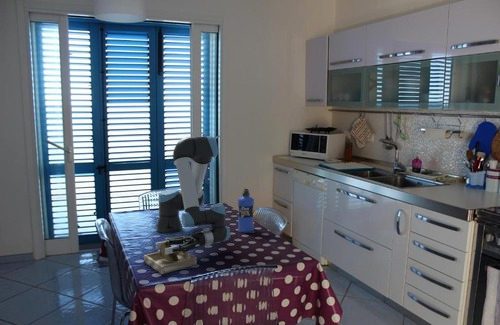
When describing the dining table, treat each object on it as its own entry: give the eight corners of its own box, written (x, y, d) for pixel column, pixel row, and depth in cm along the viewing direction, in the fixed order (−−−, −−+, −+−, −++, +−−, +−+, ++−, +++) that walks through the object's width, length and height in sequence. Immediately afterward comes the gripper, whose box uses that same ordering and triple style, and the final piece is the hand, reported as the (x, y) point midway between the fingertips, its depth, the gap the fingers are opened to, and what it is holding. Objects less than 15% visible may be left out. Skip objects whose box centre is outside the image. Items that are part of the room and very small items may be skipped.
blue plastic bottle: (252, 233, 244) (252, 191, 240) (236, 232, 246) (236, 190, 242) (255, 228, 253) (255, 187, 249) (239, 227, 255) (239, 187, 251)
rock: (153, 251, 201) (155, 256, 192) (164, 236, 203) (166, 240, 193) (172, 263, 204) (174, 268, 195) (182, 247, 205) (185, 252, 196)
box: (144, 262, 200) (143, 255, 200) (177, 253, 211) (177, 246, 211) (161, 274, 186) (161, 266, 186) (196, 264, 198) (196, 257, 197)
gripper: (214, 252, 201) (172, 263, 187) (191, 240, 218) (150, 250, 203) (214, 236, 200) (171, 247, 186) (190, 226, 216) (150, 235, 202)
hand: (160, 248), depth 195 cm, fingers closed on rock, 8 cm apart
